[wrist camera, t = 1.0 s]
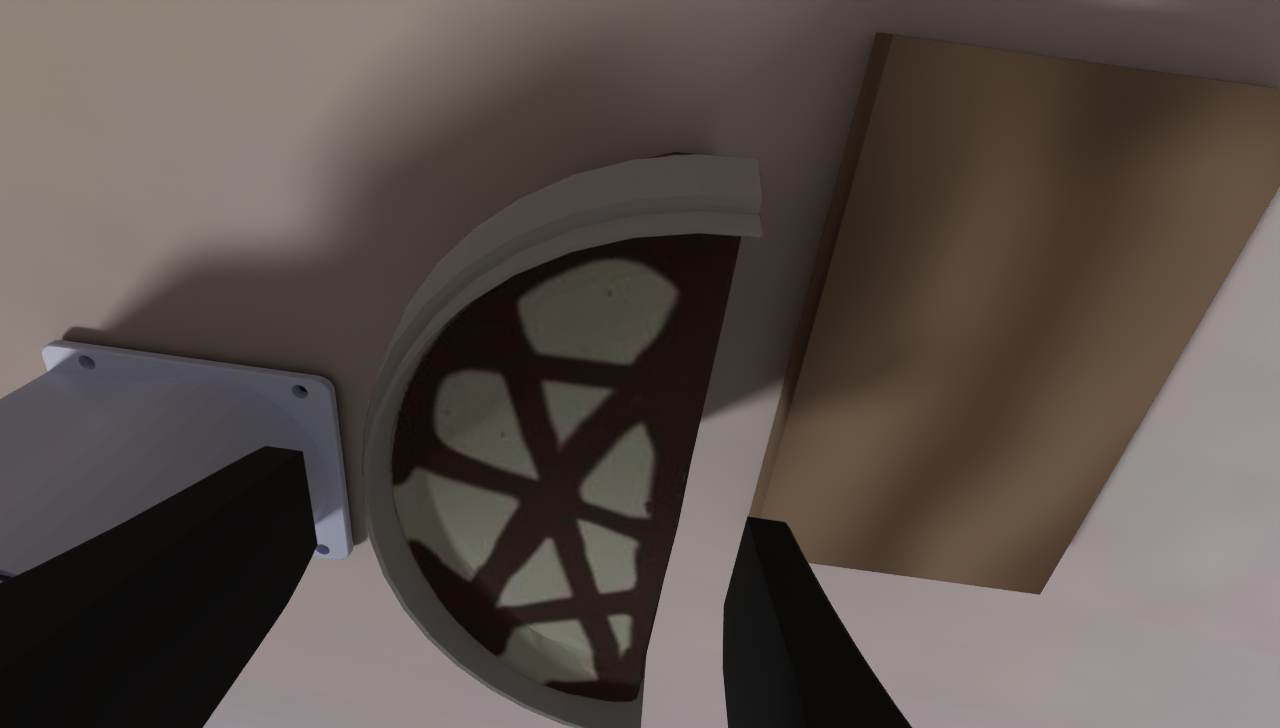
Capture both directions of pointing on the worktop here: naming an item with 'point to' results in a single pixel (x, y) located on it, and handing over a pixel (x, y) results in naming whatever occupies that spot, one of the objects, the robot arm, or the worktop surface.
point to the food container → (556, 426)
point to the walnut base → (1002, 301)
